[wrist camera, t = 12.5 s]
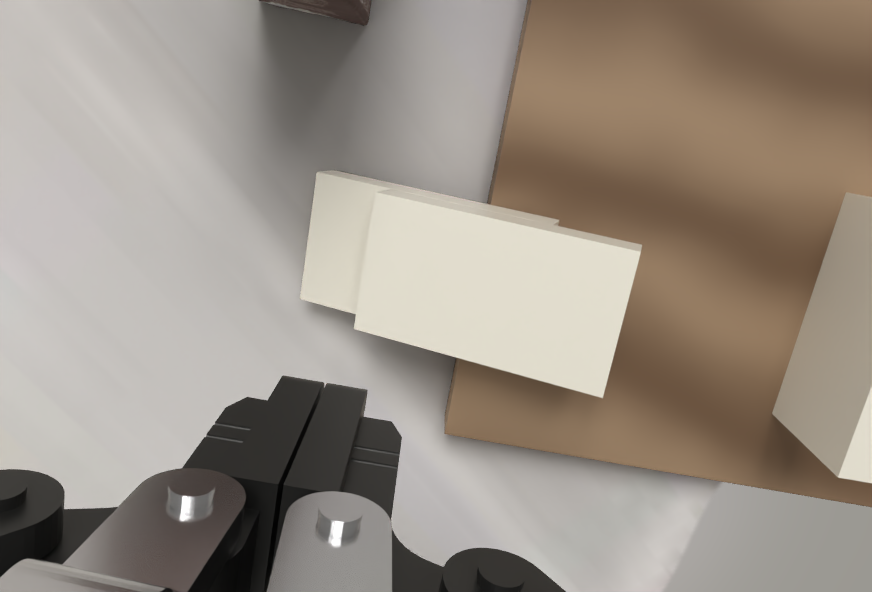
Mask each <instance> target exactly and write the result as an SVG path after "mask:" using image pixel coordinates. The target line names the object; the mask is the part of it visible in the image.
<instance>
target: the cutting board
mask: <svg viewBox="0 0 872 592" xmlns="http://www.w3.org/2000/svg"><path fill="white" fill-rule="evenodd" d="M846 192H847V193H852V194H858V195H863V196H868V197H872V0H528V1H527V6H526V11H525V16H524V21H523V26H522V31H521V36H520V41H519V46H518V51H517V56H516V61H515V66H514V71H513V76H512V81H511V86H510V91H509V96H508V101H507V106H506V111H505V116H504V121H503V126H502V131H501V136H500V141H499V146H498V151H497V156H496V161H495V166H494V171H493V176H492V181H491V186H490V191H489V196H488V201H487V204H490V205H494V206H499V207H503V208H508V209H512V210H517V211H521V212H526V213H530V214H535V215H539V216H544V217H548V218H553V219H557V220H559V224H558V226H560V227H565V228H569V229H574V230H578V231H583V232H587V233H592V234H596V235H600V236H605V237H609V238H614V239H618V240H623V241H627V242H632V243H636V244H641V245H642V249H641V254H640V258H639V261H638V265H637V269H636V273H635V277H634V280H633V284H632V288H631V292H630V296H629V300H628V303H627V307H626V311H625V315H624V319H623V322H622V326H621V330H620V334H619V338H618V342H617V345H616V349H615V353H614V357H613V361H612V364H611V368H610V372H609V376H608V380H607V384H606V387H605V391H604V395H603V398H600V397H597V396H593V395H590V394H586V393H582V392H579V391H575V390H572V389H568V388H564V387H561V386H557V385H554V384H550V383H546V382H543V381H539V380H536V379H532V378H528V377H525V376H521V375H518V374H514V373H510V372H507V371H503V370H500V369H496V368H492V367H489V366H485V365H482V364H478V363H474V362H471V361H467V360H464V359H460V358H456V361H455V366H454V371H453V376H452V381H451V386H450V391H449V396H448V401H447V407H446V412H445V434H448V435H454V436H460V437H465V438H471V439H477V440H483V441H489V442H495V443H500V444H506V445H512V446H518V447H524V448H530V449H535V450H541V451H547V452H553V453H559V454H565V455H570V456H576V457H582V458H588V459H594V460H600V461H605V462H611V463H617V464H623V465H629V466H635V467H640V468H646V469H652V470H658V471H664V472H670V473H675V474H681V475H687V476H693V477H699V478H705V479H710V480H716V481H722V482H728V483H734V484H740V485H746V486H751V487H758V488H763V489H769V490H775V491H781V492H787V493H792V494H798V495H804V496H810V497H816V498H821V499H827V500H833V501H839V502H845V503H851V504H856V505H862V506H869V507H872V483H867V482H861V481H855V480H850V479H844V478H838V477H837V476H836V475H835V474H834V473H833V472H832V471H831V470H830V469H829V468H828V467H826V466H825V465H824V464H823V463H822V462H821V461H820V460H819V459H818V458H817V457H816V456H815V455H814V454H813V453H812V452H811V451H810V450H809V449H808V448H807V447H806V446H805V445H804V444H803V443H802V442H801V441H800V440H799V439H798V438H797V437H795V436H794V435H793V434H792V433H791V432H790V431H789V430H788V429H787V428H786V427H785V426H784V425H783V424H782V423H781V422H780V421H779V420H778V419H777V418H776V417H775V416H774V415H773V414H772V412H773V409H774V406H775V403H776V400H777V397H778V394H779V391H780V388H781V385H782V382H783V379H784V376H785V373H786V370H787V367H788V364H789V361H790V358H791V355H792V352H793V349H794V346H795V343H796V340H797V337H798V334H799V331H800V328H801V325H802V322H803V319H804V316H805V313H806V310H807V307H808V304H809V301H810V298H811V295H812V292H813V289H814V286H815V283H816V280H817V277H818V274H819V271H820V268H821V265H822V262H823V259H824V256H825V253H826V250H827V247H828V244H829V241H830V238H831V235H832V233H833V230H834V227H835V224H836V221H837V218H838V215H839V212H840V209H841V206H842V203H843V200H844V197H845V194H846Z"/></svg>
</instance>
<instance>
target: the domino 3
mask: <svg viewBox="0 0 872 592" xmlns="http://www.w3.org/2000/svg"><path fill="white" fill-rule="evenodd" d="M772 414H773V415H774V416H775V417H776V418H777V419H778V420H779V421H780V422H781V423H782V424H783V425H784V426H785V427H786V428H787V429H788V430H789V431H790V432H791V433H792V434H793V435H794V436H795V437H797V438H798V439H799V440H800V441H801V442H802V443H803V444H804V445H805V446H806V447H807V448H808V449H809V450H810V451H811V452H812V453H813V454H814V455H815V456H816V457H817V458H818V459H819V460H820V461H821V462H822V463H823V464H824V465H825V466H826V467H828V468H829V469H830V470H831V471H832V472H833V473H834V474H835V475H836V476H837V477H838V478H844V479H850V480H855V481H861V482H867V483H872V197H868V196H863V195H858V194H852V193H847V192H846V194H845V197H844V200H843V203H842V206H841V209H840V212H839V215H838V218H837V221H836V224H835V227H834V230H833V233H832V235H831V238H830V241H829V244H828V247H827V250H826V253H825V256H824V259H823V262H822V265H821V268H820V271H819V274H818V277H817V280H816V283H815V286H814V289H813V292H812V295H811V298H810V301H809V304H808V307H807V310H806V313H805V316H804V319H803V322H802V325H801V328H800V331H799V334H798V337H797V340H796V343H795V346H794V349H793V352H792V355H791V358H790V361H789V364H788V367H787V370H786V373H785V376H784V379H783V382H782V385H781V388H780V391H779V394H778V397H777V400H776V403H775V406H774V409H773V412H772Z"/></svg>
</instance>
